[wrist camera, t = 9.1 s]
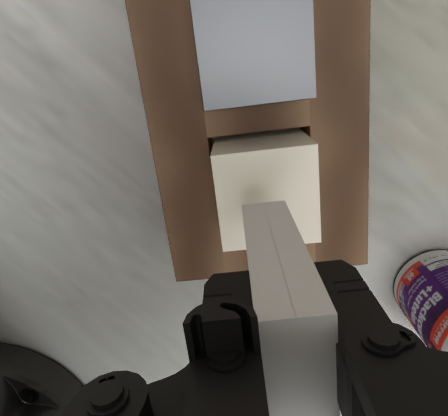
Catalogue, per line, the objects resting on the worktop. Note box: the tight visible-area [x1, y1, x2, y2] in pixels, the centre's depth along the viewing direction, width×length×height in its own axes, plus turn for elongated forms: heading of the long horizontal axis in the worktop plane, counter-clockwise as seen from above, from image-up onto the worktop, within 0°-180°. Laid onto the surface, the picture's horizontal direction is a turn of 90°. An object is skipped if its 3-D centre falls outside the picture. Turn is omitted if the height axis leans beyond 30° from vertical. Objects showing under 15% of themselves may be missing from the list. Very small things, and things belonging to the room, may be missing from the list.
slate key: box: [190, 0, 316, 111], centre depth 17 cm, size 5×5×5 cm
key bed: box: [125, 0, 370, 282], centre depth 19 cm, size 11×24×4 cm, turn 7°
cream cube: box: [210, 128, 321, 252], centre depth 19 cm, size 5×5×5 cm
